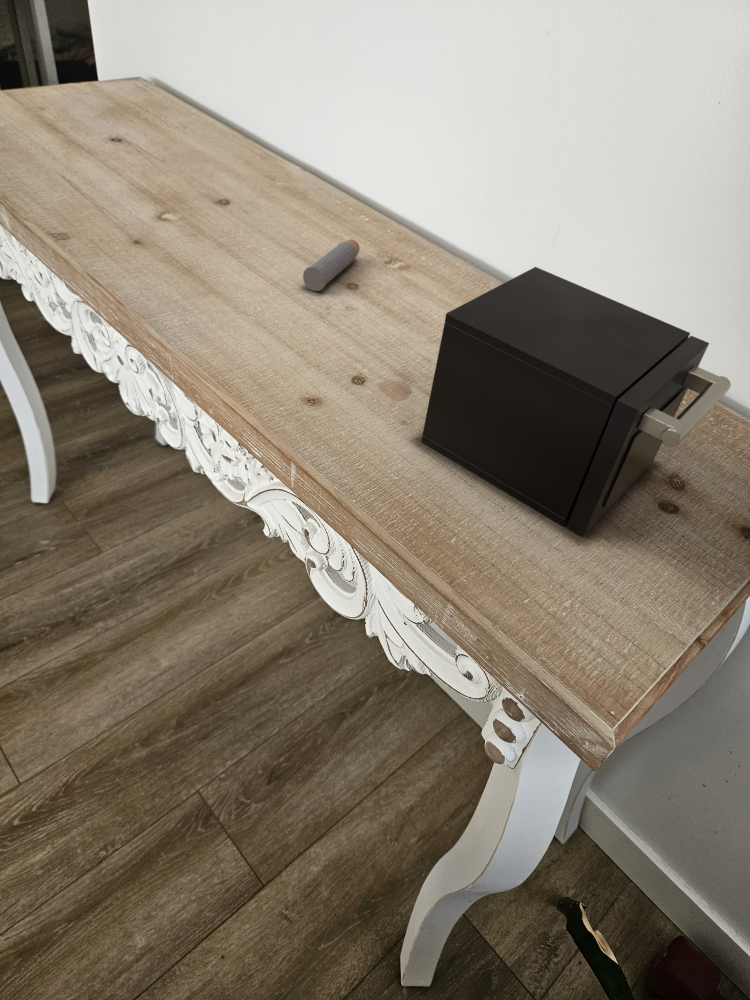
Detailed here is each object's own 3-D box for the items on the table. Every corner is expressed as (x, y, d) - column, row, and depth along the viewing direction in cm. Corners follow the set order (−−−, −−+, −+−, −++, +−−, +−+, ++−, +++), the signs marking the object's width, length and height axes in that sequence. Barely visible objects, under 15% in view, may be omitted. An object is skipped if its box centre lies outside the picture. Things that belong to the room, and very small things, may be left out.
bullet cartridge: (324, 294, 83) (326, 270, 81) (301, 287, 84) (302, 263, 82) (362, 261, 91) (365, 238, 89) (341, 254, 92) (343, 232, 90)
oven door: (684, 479, 64) (748, 358, 56) (618, 557, 56) (681, 430, 47) (636, 454, 66) (691, 334, 58) (565, 527, 58) (617, 399, 49)
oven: (633, 454, 67) (690, 332, 58) (562, 526, 58) (616, 396, 49) (502, 385, 73) (535, 266, 64) (420, 441, 64) (446, 312, 56)
